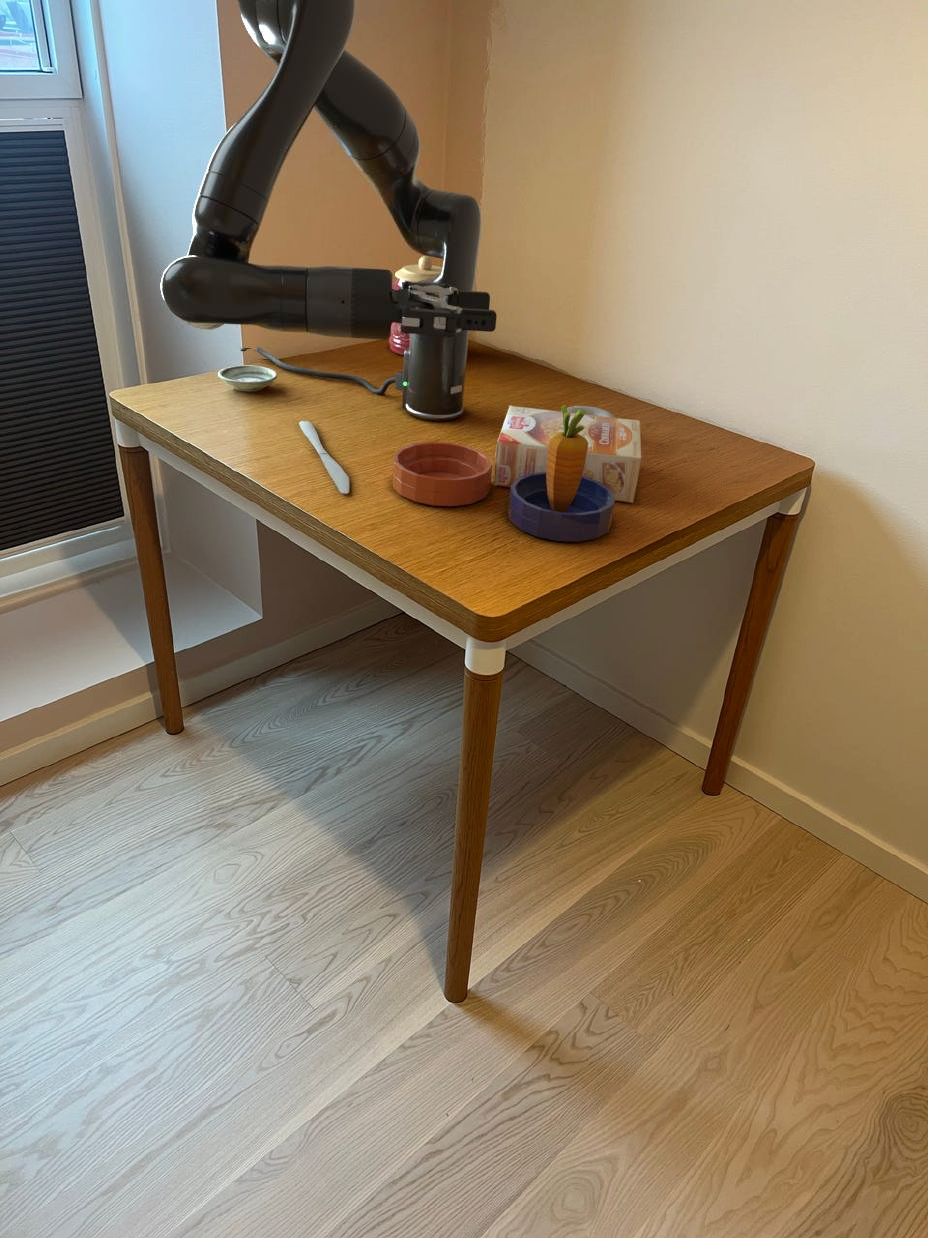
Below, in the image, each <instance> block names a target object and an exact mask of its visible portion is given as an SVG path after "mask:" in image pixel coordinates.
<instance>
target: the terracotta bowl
mask: <svg viewBox="0 0 928 1238" xmlns="http://www.w3.org/2000/svg"><path fill="white" fill-rule="evenodd" d="M392 458H393V459H392V460H393V461H392V488H393V489H394V491H396V493H398V494H399V495H400V496H402V497H404V498H406V499H408V500H410V501H413V502H415V503H420V504H424V505H430V506H435V507H436V506H438V507H459V506H465V505H471V504H475V503H477V502H479V501H481V500H483V499H485V498H486V497H487V495H488V494H489V493H490V492H491V485H492V474H493V464H492V459H491V458H490V457H489V456H488V455H487V454H485V453H484V452H483V451H482V450H478V449H477V448H473V447H471V446H468V445H465V444H459V443H454V442H448V441H447V442H446V441H445V442H444V441H442V442H441V441H425V442H419V443H411V444H409V445H406V446H403V447H401V448H399V449H398V450H397V451H396V452H395V453H393V457H392Z"/></svg>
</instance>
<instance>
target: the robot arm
mask: <svg viewBox="0 0 928 1238" xmlns="http://www.w3.org/2000/svg"><path fill="white" fill-rule="evenodd" d="M237 3H238V7H239V8H238V9H239V12H240V16H241V18H242V22H243V23H244V25H245V28H246V30H247V32H248V34H249V35H250V36H251V39H252V40H253V41H254V42H255V43H256V45H257V46H258V47H259V48H260V49H261V50H262V51H263V53H264V54H265V55H267V57H268V58H269V59H270V60H271V61H272V62H274V64H275V65H276V66H277V68H276V70H275V72H274V74H273V76H272V78H270V81H269V82H268V83H267V85H266V86H265V88H264V89H263V90H262V93H260V95H259V96H258V98H257V99H256V100H254V102H253V103H252V104H251V105H250V107H249V108H248V109H247V110H246V111H245V112H244V113H243V114H242V116H241V117H239V119H238V120H236V121H235V123H234V124H232V126H231V127H230V128H229V130H228V131H227V132H226V133H225V134H224V136H223V137H222V138H221V140H220V141H219V143H218V145H217V146H216V148H215V150H214V152H213V153H212V156H211V157H210V160H209V163H208V165H207V169H206V171H205V174H204V177H203V179H202V183H201V185H200V187H199V188H200V189H199V192H198V195H197V198H196V200H195V203H194V208H193V212H192V227H193V235H192V238H191V242H190V245H189V249H188V251H187V255H186V256H183V257H180V258H177V259H176V260H174V261H173V262H171V263H170V264H169V265H168V266H167V268H166V269H165V270H164V271H163V274H162V277H161V282H160V292H161V296H162V299H163V301H164V303H165V305H166V307H167V308H168V310H169V311H170V312H171V314H172V315H174V316H175V317H176V318H178V319H179V320H181V321H182V322H184V323H186V324H187V325H189V326H191V327H193V328H195V329H198V330H202V331H212V330H215V329H218V328H221V327H223V326H224V325H238V326H239V325H241V326H255V327H259V328H261V329H265V330H268V331H273V332H280V333H281V332H282V333H284V332H285V333H302V334H314V335H319V336H323V337H332V338H348V339H363V340H364V339H365V340H383V341H387V340H389V338H390V336H391V324H392V323H394V322H396V323H400V324H401V332H402V333H405V334H409V333H410V343H409V349H407V350H405V352H404V355H403V370H401V371H399V372H398V371H397V372H396V373H395V376H392V377H390V378H388V379H386V380H385V381H384V382H383V384H382V386H381V387H380V388H376V387H374V386H373V385H372V384H371V383H370V382H369V381H368V380H366V379H364V378H362V377H360V376H355V375H352V374H344V373H333V372H332V373H331V372H326V371H319V370H314V369H308V368H303V367H298V366H294V365H292V364H291V365H290V364H287V363H285V362H283V361H281V360H279V359H278V358H277V357H276V356H275V355H273V354H271V353H268V352H267V351H266V350H264V349H262V348H261V347H260V346H258V348H257V351H256V350H254V352H257V353H258V354H260V355H261V356H262V357H264V358H266V359H268V360H269V361H271V362H273V363H274V364H275V365H276V366H278V367H280V368H282V369H284V370H287V371H290V372H293V373H298V374H301V375H307V376H311V377H317V378H325V379H331V380H341V381H348V382H349V381H350V382H354V383H359V384H361V385H363V386H364V387H365V388H366V389H367V390H369V391H370V392H372V393H373V394H375V395H378V396H379V395H384V394H385V393H386V391H387V390H388V388H389V386H390V385H392V384H394V386H395V387H394V390H397V391H400V392H402V402H401V405H402V406H401V408H402V409H405V411H406V413H408V414H409V415H411V416H412V417H414V418H417V419H421V420H426V421H432V422H433V421H434V422H435V421H436V422H445V421H453V420H456V419H458V418H460V417H462V416H463V415H464V397H465V387H466V386H465V383H466V369H467V357H468V343H469V331H470V332H485V333H486V332H489V333H492V332H495V330H496V328H497V316H498V315H497V313H496V311H495V310H494V309H490V305H491V304H490V303H491V296H490V293H489V292H487V291H478V290H477V291H476V290H474V288H475V283H476V276H477V267H478V260H479V250H480V244H481V234H482V224H483V223H482V222H483V221H482V220H483V219H482V211H481V207H480V204H479V202H478V200H477V199H476V198H475V197H474V196H472V195H470V194H466V193H459V192H454V191H446V190H441V189H434V188H431V187H429V186H427V185H425V183H424V182H423V181H422V180H421V179H420V177H419V176H418V175H417V173H416V170H417V167H418V165H419V160H420V157H421V156H420V155H421V137H420V133H419V130H418V128H417V125H416V123H415V122H414V120H413V118H412V117H411V115H410V113H409V111H408V110H407V107H405V105H404V103H403V102H402V100H401V99H400V97H399V96H398V94H397V93H396V92H395V91H394V89H392V87H391V86H390V85H389V84H388V83H387V82H386V81H385V80H384V79H383V78H382V77H380V76H379V75H378V74H376V72H375V71H373V70H372V69H370V68H369V66H367V65H366V64H364V63H363V62H362V61H361V60H359V59H358V58H356V57H355V56H354V55H353V54H352V53H351V52H349V51H348V50H347V49H346V47H347V44H348V42H349V39H350V37H351V34H352V30H353V27H354V23H355V16H356V14H355V13H356V0H237ZM313 110H314V111H315V112H316V114H317V115H318V116H319V117H320V119H321V120H322V121H323V123H324V124H325V125H326V127H327V128H328V129H329V130H330V132H331V134H333V136H334V138H336V140H337V141H338V144H339V145H340V146H341V148H342V149H343V151H344V152H345V153H346V155H347V156H348V158H349V159H350V160H351V161H352V163H353V164H354V165H355V167H356V169H358V170H359V172H360V173H361V174H362V175H363V176H364V178H365V179H366V180H367V182H368V183H369V184H370V186H371V188H372V189H373V191H374V192H375V193H376V195H377V196H378V198H379V199H380V200H381V202H382V203H383V205H384V206H385V208H386V210H387V212H388V213H389V216H390V217H391V220H392V221H393V223H394V224H395V226H396V228H397V230H398V232H399V233H400V235H401V237H402V239H403V240H404V242H405V243H406V245H407V246H408V247H409V249H411V251H413V252H415V253H417V254H419V255H422V256H428V257H430V258H437V259H441V260H443V263H442V271H441V274H440V275H438V276H437V277H434V278H430V279H425V280H421V281H418V282H408V281H405V282H402V283H401V289H397V290H395V289H393V287H392V284H393V272H392V271H391V270H390V269H384V268H383V269H382V268H365V267H350V266H337V265H336V266H335V265H325V266H309V267H308V266H297V265H278V264H277V265H275V264H274V265H267V264H266V265H264V264H257V263H256V264H255V263H252V262H249V261H250V255H251V251H252V247H253V244H254V242H255V239H256V237H257V235H258V232H259V230H260V227H261V225H262V223H263V219H264V216H265V214H266V211H267V209H268V205H269V202H270V200H271V197H272V194H273V191H274V188H275V185H276V183H277V181H278V178H279V176H280V174H281V170H282V168H283V166H284V164H285V162H286V160H287V157H288V156H289V153H290V151H291V149H292V148H293V145H294V144H295V142H296V140H297V138H298V136H299V134H300V133H301V130H302V129H303V127H304V125H305V124H306V122H307V121H308V118H309V116H310V115H311V113H312V111H313ZM247 350H252V349H251V348H242V347H240V349H239V351H240V352H246V351H247Z"/></svg>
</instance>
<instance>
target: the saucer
mask: <svg viewBox="0 0 928 1238" xmlns="http://www.w3.org/2000/svg"><path fill="white" fill-rule="evenodd" d="M217 376H218V379H220V380H221V381H222V382H223V383H224V384H226V385H228V386H229V387H232V388H233V389H234V390H237V391H240V392H258V391H261V390H263V389H264V388H266V387H268V386H269V385H271V384H272V383H273V382H274V381H275V380H277V378H278V373H277V372H276V371H275V370H273V369H272V368H269V367H265V366H260V365H251V364H241V365H233V366H232V365H231V366H228V367H225V368H222V369H221V370H219V371H218V372H217Z"/></svg>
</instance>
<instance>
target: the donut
mask: <svg viewBox="0 0 928 1238" xmlns="http://www.w3.org/2000/svg"><path fill="white" fill-rule="evenodd" d="M579 409H582V410H583V411H585V412H586V413H585V414H584V415H593V416H602V417H610V418H616V416H615V415H614V414H612V413H611V412H609V411H608V410H606V409H602V408H599V407H594V406H586V405H575V406H568V407H567V411H568V412H569V413H577V412H578V410H579ZM560 412H562V410H561V411H560Z"/></svg>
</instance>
